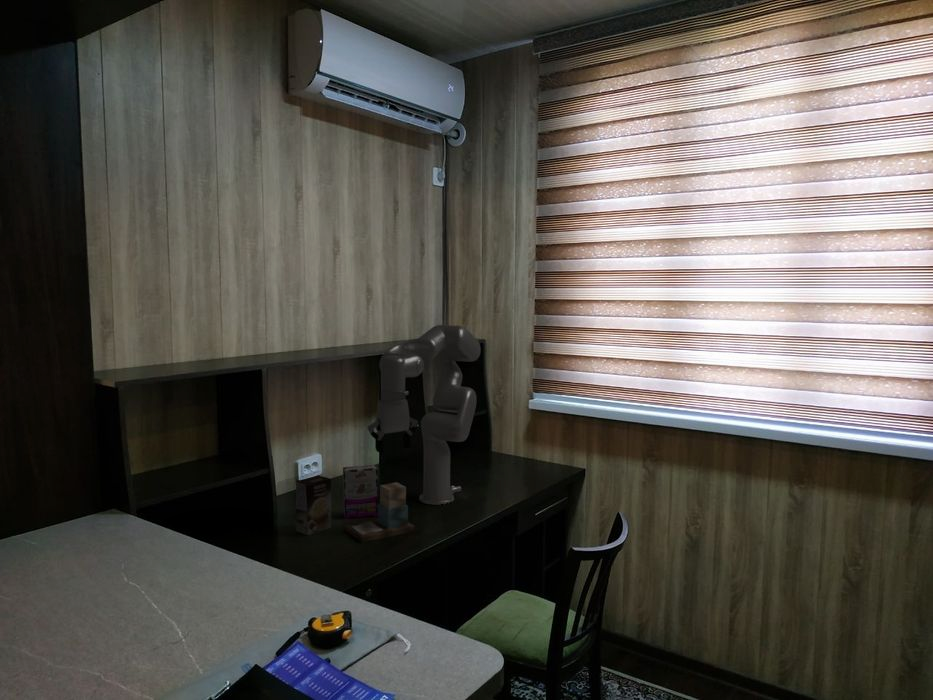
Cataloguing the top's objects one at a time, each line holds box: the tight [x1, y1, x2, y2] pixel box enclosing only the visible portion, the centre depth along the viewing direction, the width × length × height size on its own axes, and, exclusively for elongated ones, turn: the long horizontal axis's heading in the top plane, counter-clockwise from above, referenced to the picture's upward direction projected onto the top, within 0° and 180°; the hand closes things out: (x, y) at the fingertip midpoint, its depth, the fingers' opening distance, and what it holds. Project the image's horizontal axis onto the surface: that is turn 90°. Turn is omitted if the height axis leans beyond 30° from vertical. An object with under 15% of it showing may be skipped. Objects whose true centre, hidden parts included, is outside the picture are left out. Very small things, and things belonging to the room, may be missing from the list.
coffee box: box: [295, 475, 332, 536], centre depth 210 cm, size 9×6×16 cm
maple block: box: [379, 481, 407, 509], centre depth 212 cm, size 6×6×6 cm
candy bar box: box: [342, 464, 379, 520], centre depth 224 cm, size 11×5×16 cm, turn 105°
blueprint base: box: [344, 502, 416, 544], centre depth 211 cm, size 18×12×8 cm, turn 125°
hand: (393, 449), depth 211 cm, fingers open, 9 cm apart
